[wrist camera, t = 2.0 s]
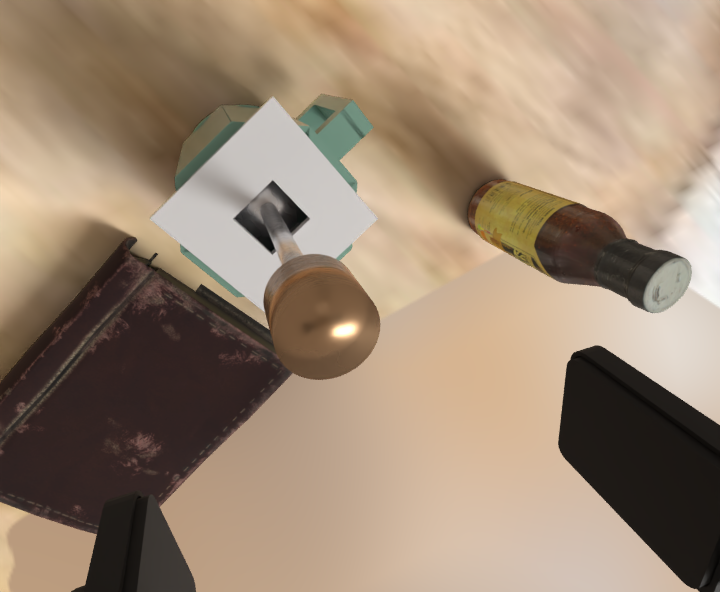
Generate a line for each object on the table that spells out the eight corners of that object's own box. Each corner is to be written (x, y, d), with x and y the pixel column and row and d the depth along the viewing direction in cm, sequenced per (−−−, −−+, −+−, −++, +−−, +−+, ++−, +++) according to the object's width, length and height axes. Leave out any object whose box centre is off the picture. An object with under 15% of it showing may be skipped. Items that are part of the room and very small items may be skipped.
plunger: (175, 207, 26) (150, 348, 13) (267, 116, 25) (339, 166, 12) (267, 286, 29) (320, 458, 16) (349, 208, 29) (472, 322, 16)
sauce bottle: (457, 234, 46) (606, 329, 29) (474, 172, 44) (647, 237, 27) (510, 240, 49) (677, 331, 32) (529, 181, 46) (720, 245, 29)
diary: (-51, 436, 40) (-82, 479, 36) (129, 230, 38) (119, 249, 33) (139, 507, 50) (132, 548, 45) (295, 346, 47) (304, 373, 42)
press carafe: (155, 167, 36) (131, 219, 23) (274, 47, 34) (316, 34, 22) (250, 251, 41) (272, 330, 28) (356, 149, 40) (427, 185, 27)
